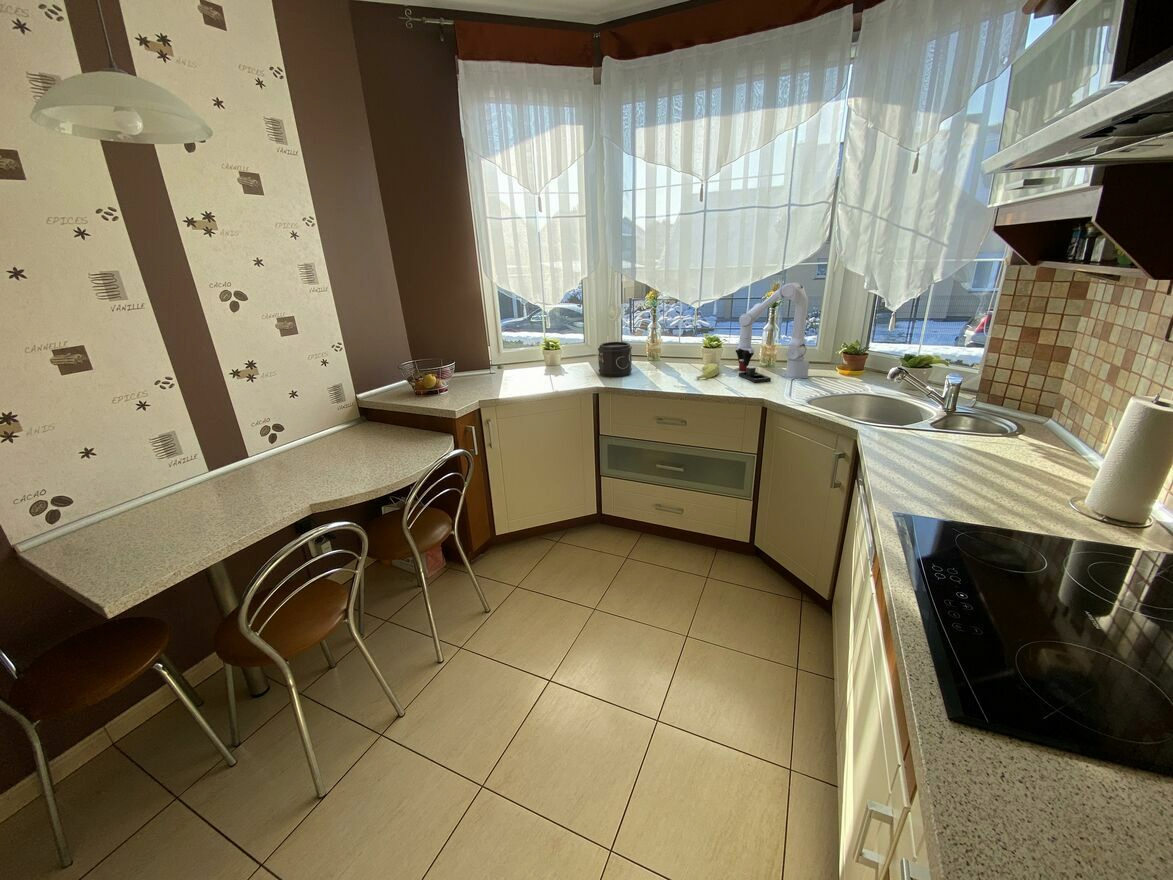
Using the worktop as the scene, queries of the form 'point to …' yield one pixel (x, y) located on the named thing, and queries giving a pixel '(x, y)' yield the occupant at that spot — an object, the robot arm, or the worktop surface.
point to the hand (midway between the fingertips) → (743, 364)
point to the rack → (755, 377)
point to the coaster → (740, 370)
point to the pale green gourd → (709, 371)
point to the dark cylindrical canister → (615, 359)
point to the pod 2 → (751, 370)
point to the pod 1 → (742, 365)
